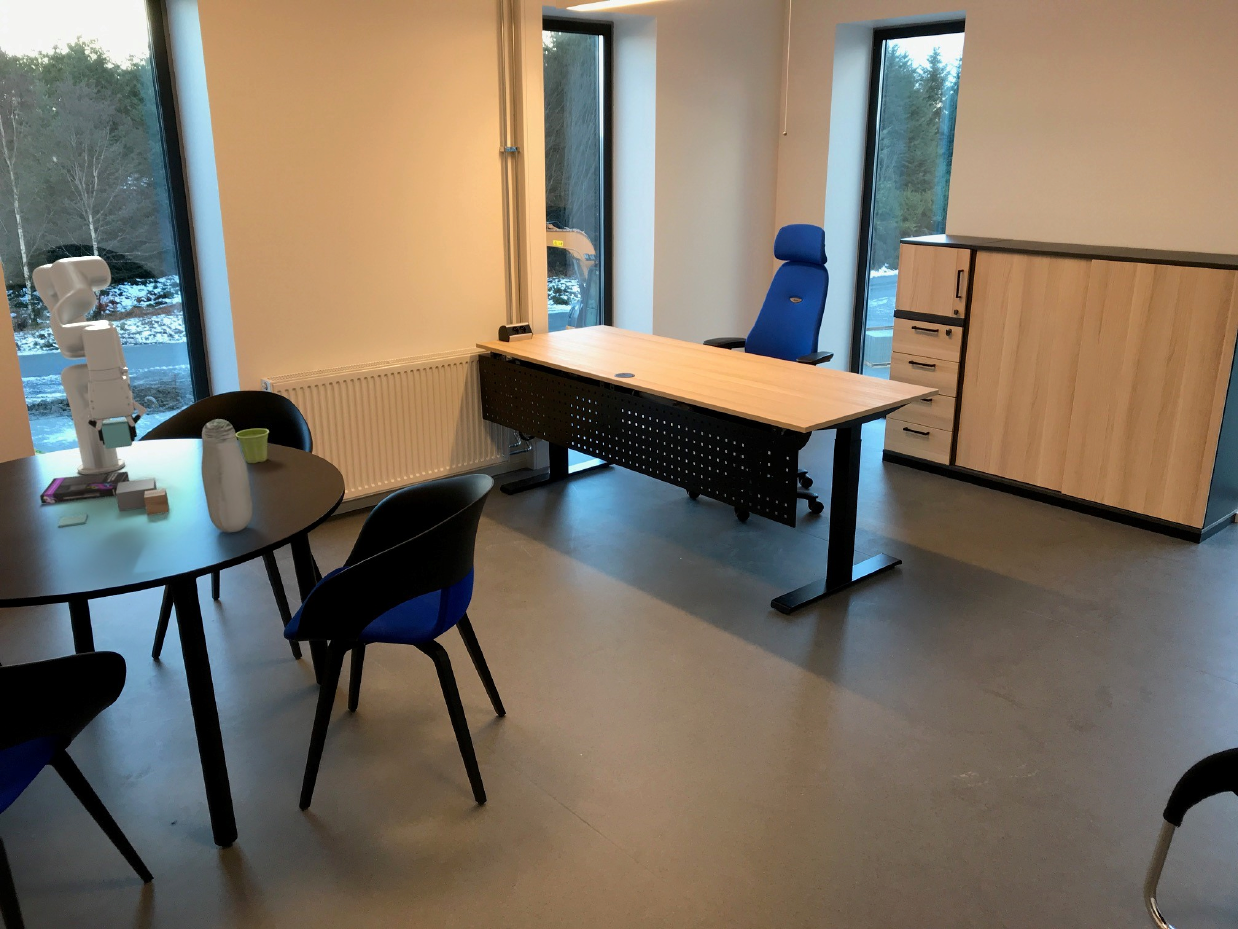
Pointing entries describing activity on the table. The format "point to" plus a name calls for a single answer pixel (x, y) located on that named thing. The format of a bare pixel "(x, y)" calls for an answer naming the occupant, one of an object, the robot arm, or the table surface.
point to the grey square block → (133, 493)
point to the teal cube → (116, 433)
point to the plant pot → (253, 444)
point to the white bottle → (225, 477)
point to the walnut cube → (156, 501)
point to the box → (83, 487)
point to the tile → (73, 520)
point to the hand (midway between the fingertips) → (119, 441)
